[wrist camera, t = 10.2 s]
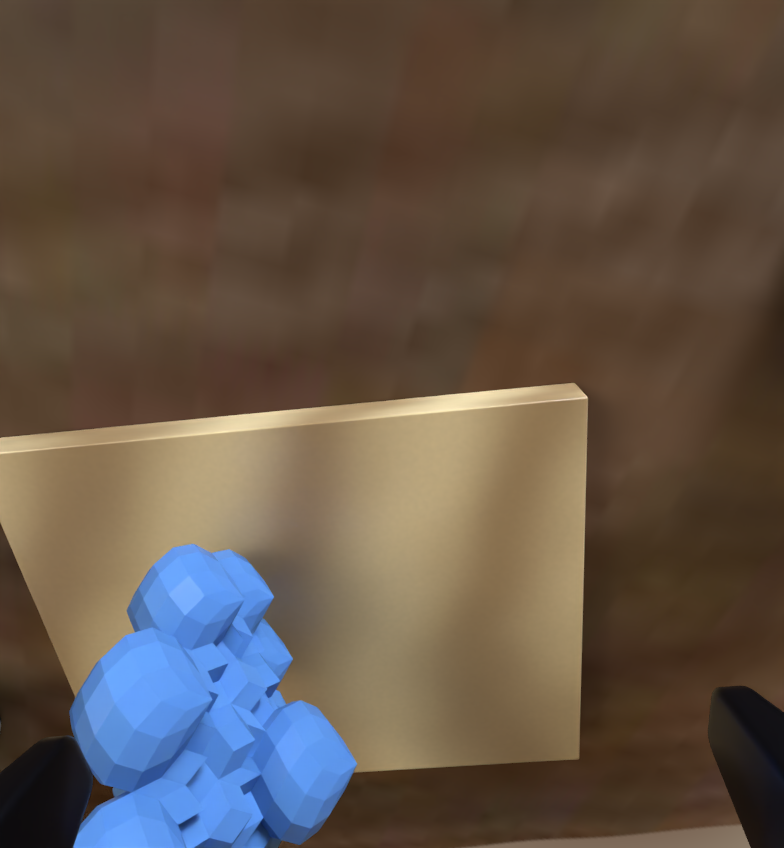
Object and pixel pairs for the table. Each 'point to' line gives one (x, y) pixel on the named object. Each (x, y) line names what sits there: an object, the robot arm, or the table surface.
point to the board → (344, 556)
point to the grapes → (203, 719)
